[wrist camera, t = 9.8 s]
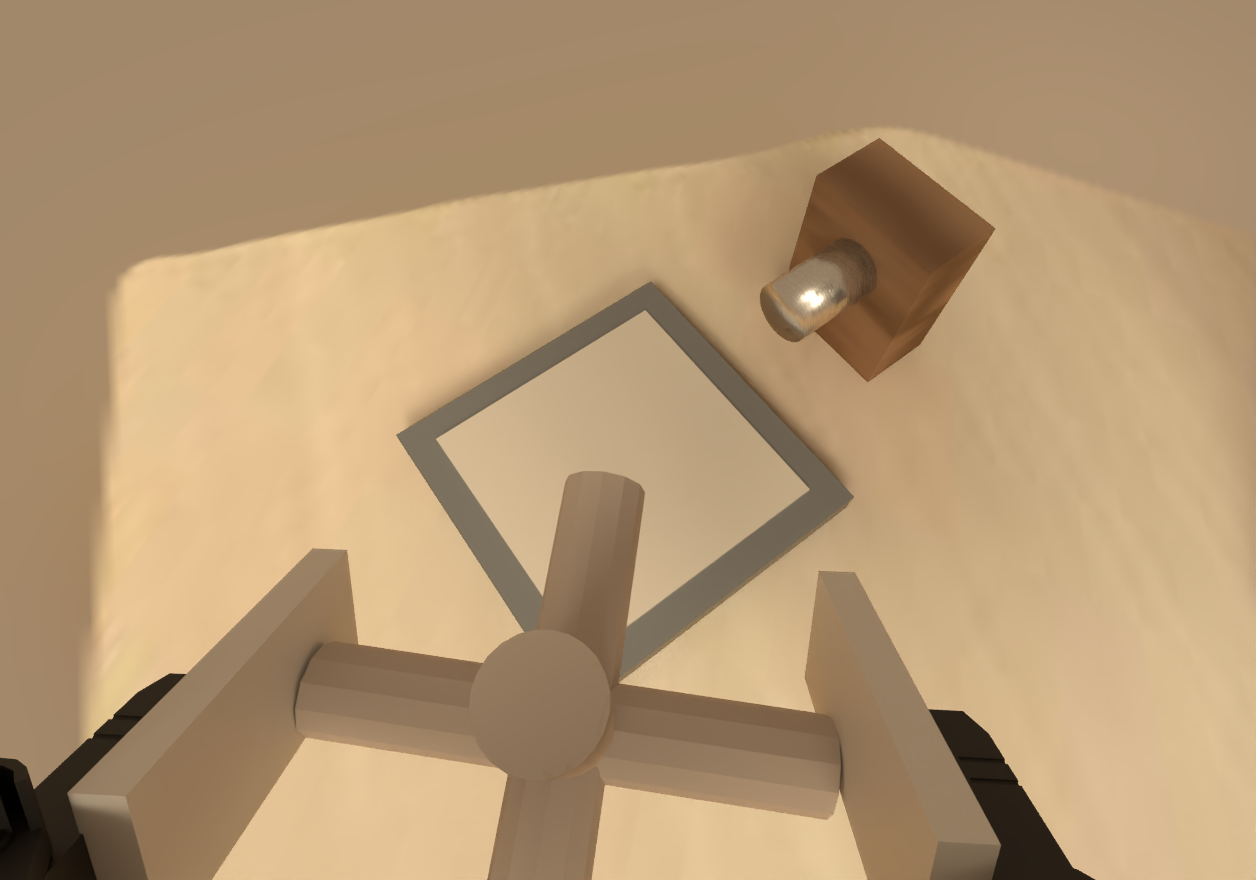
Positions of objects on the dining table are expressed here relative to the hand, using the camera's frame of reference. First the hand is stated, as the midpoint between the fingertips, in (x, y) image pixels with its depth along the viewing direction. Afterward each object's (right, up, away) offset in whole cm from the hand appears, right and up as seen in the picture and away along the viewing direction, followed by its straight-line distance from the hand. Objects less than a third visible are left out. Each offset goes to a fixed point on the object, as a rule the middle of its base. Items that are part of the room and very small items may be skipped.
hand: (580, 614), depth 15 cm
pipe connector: (0, -4, +3) cm, 5 cm away
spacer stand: (+5, +5, +21) cm, 22 cm away
